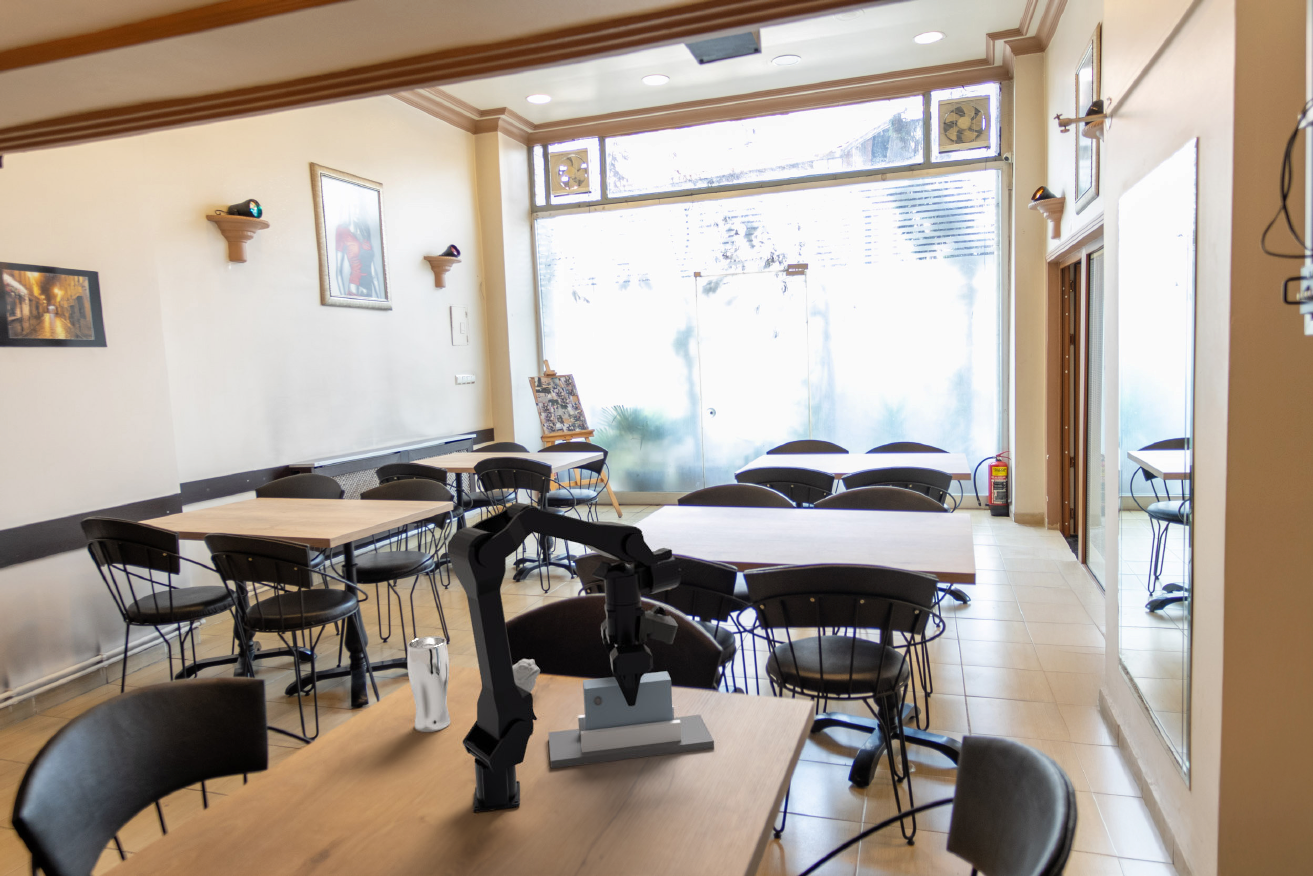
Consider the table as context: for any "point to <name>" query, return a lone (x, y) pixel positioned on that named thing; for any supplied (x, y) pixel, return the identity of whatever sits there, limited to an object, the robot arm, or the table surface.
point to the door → (612, 709)
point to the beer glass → (429, 682)
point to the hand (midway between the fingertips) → (627, 694)
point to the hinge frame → (628, 741)
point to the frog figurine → (526, 674)
